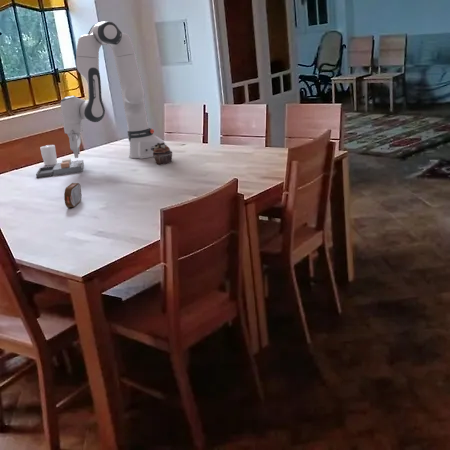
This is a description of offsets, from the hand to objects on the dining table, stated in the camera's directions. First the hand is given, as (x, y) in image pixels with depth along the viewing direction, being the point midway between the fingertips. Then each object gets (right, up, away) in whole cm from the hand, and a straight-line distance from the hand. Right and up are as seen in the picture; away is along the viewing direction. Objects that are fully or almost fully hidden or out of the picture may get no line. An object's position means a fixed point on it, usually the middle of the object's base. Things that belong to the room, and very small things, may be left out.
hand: (77, 155), depth 328 cm
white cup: (-20, -2, +24) cm, 31 cm away
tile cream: (-6, -3, +4) cm, 8 cm away
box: (-16, -9, 0) cm, 18 cm away
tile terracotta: (-5, -6, -3) cm, 8 cm away
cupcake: (+45, -4, -6) cm, 46 cm away
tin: (+14, -27, -67) cm, 73 cm away
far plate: (-4, -7, +2) cm, 9 cm away
